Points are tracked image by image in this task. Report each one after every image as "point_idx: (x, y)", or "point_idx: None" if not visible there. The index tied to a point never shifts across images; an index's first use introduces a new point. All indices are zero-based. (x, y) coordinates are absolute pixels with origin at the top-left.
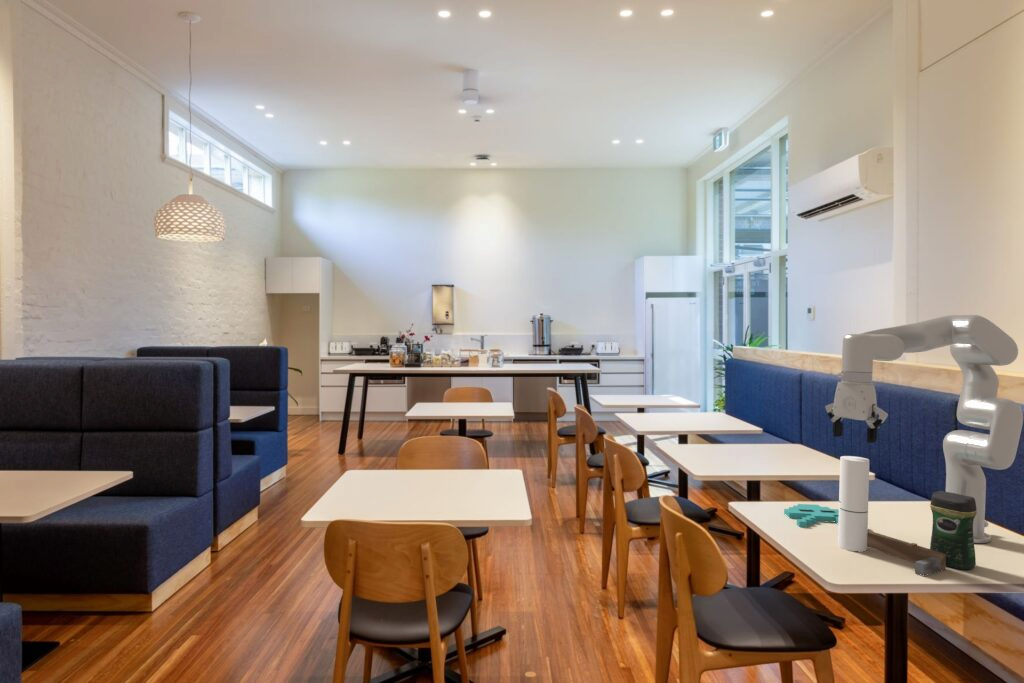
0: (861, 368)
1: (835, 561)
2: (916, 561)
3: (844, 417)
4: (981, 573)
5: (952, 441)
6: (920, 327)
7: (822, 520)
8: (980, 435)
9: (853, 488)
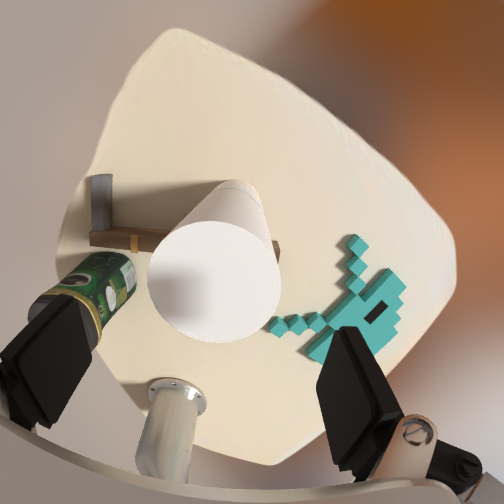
0: None
1: (211, 100)
2: (102, 178)
3: (242, 493)
4: None
5: None
6: None
7: (341, 303)
8: None
9: (203, 202)
